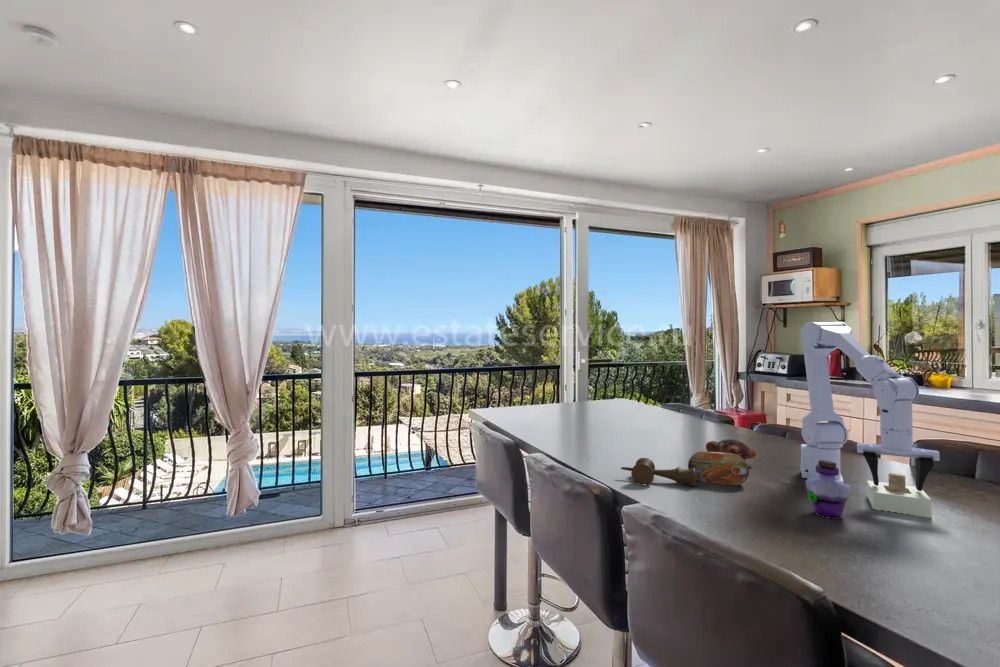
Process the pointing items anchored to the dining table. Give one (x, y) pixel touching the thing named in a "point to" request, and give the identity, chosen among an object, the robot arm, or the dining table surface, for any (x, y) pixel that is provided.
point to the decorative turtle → (731, 448)
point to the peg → (897, 482)
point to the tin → (719, 468)
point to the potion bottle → (827, 491)
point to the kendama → (660, 473)
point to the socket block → (899, 500)
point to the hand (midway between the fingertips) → (897, 486)
